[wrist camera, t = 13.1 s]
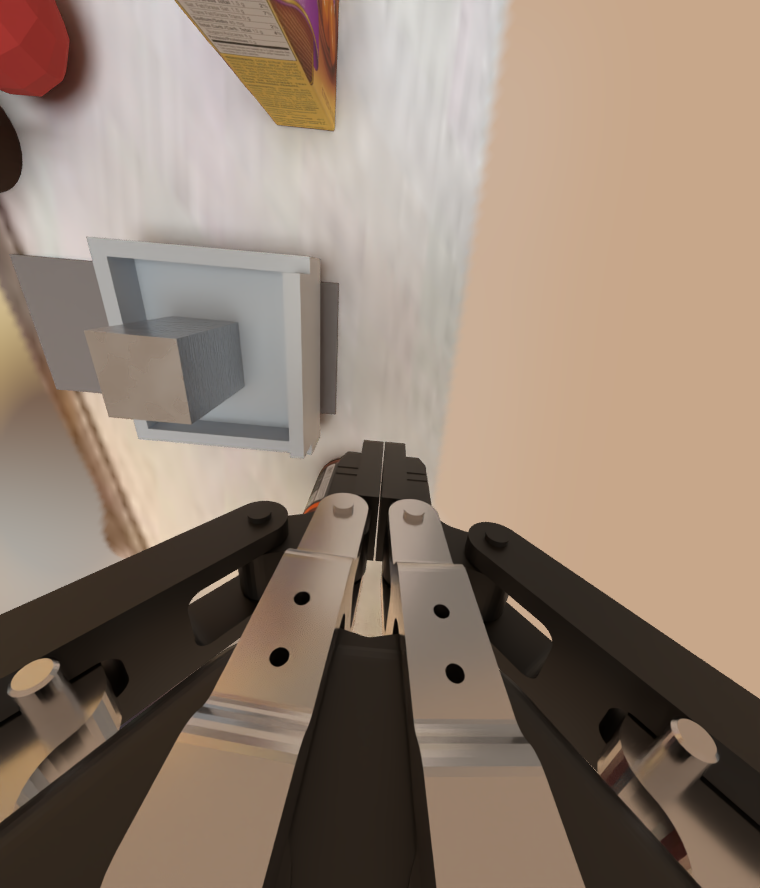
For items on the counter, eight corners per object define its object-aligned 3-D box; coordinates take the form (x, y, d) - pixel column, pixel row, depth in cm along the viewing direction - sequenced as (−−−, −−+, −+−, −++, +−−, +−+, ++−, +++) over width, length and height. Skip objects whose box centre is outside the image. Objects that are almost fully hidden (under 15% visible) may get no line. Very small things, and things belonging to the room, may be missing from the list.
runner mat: (335, 413, 32) (335, 414, 31) (58, 388, 32) (56, 389, 31) (338, 283, 27) (338, 283, 27) (12, 254, 27) (9, 254, 27)
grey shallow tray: (323, 429, 32) (304, 470, 25) (175, 416, 32) (115, 453, 25) (325, 260, 26) (299, 253, 19) (141, 244, 26) (49, 231, 19)
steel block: (244, 386, 28) (191, 424, 20) (183, 381, 28) (108, 417, 20) (238, 322, 25) (176, 338, 18) (172, 316, 25) (83, 330, 18)
